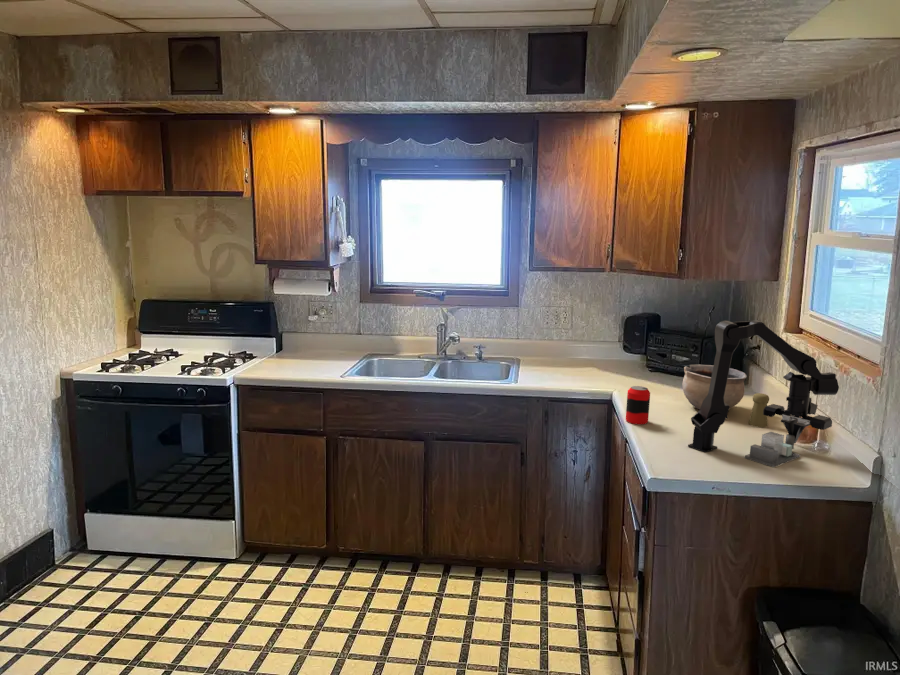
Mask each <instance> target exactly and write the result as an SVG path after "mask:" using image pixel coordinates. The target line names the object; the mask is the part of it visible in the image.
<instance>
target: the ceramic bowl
mask: <svg viewBox="0 0 900 675" xmlns="http://www.w3.org/2000/svg"><path fill="white" fill-rule="evenodd" d="M713 366H714V364H713V365H711V364H689V366H684V367H683V371H684V376H683V380H682V392H683V394H684V396H685V398H686V400H688V402H689V403H690V404H691V406H692V407H694V408H695V409H697V410H700V408H701V405H702V402H703V400H704V399H705V398H706V396H707V395H708V392H709V387H710V382H711V377H712V371H713ZM747 377H748V376H747V374H746V373H745V372H743V371H741V370H738V369H734V368H732V367H730V369H729V374H728V379H727V384H726V389H725V394H724V402H725V403H726V404H728V405H729V410H731V409H733V407H735V406H737V405H738V404H739V403H740V402H741V400H742V399H743V398H744V395H745V393H746V392H745V391H746V390H745V381H746V380H747Z"/></svg>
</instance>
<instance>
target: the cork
mask: <svg viewBox="0 0 900 675" xmlns="http://www.w3.org/2000/svg"><path fill="white" fill-rule="evenodd" d="M752 402H753V405H752V410H751V413H750V418H749V422H748V424H749V425H750V426H752V427H754V428H755V427H756V428H767V427H768V425H769V424H768V423H769V422H768V421H769V420H768V416H766V415H763V409H764V408H765V407H766V406H768V404H769V402H770V397H769V395H768V394H767V393H760V392H757V393H754V394H753V395H752Z"/></svg>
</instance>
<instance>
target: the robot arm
mask: <svg viewBox="0 0 900 675" xmlns="http://www.w3.org/2000/svg"><path fill="white" fill-rule="evenodd" d="M754 336H756V337H757V338H758V339H760V340H761V341H762V342H764V343H765V344H766V345H767V346H769V347H770V348H772V350H774V351H776V353H778V354H779V355H780V356H781V357H782V359H783V361H784V362H785V363H786V364H787V365H788V366H789V368H790V369H791V370H794V371H795V372H797V373H800V374H796V373H794V372H793V371H789V372H788V373H787V374H785V375H784V376H783V379H785V380H786V381H788V382H789V391H788V396H786V399H785V400H786V402H787V407H786V408H785V406H783V405H779V404H776V403H775V404H774V403H772V404H771V403H770V404H769V405H768V404H767V406H766V407H765V408H764V409H763V415H766V416H767V417H770V418H773V417H775V416H776V415H777V416H778V415H779V416H781V419H780V423H783V425H784V427H785V430H786V431H787V433H788V434H791V435H794V436H795V440H794V444H796V443H797V441H798V440H799V438H800V436H801V434H802V432H803V431H804V430H805V428H807V427H809V426H810V427H811V428H812V429H817V430H822V431H824V430H826V429H829V428H833V427H832V426H833V420H832V418H831V417H829V416H826V415H825V416H824V415H821V414H818V415H816V413H817V409H818V406H819V405H818V404H816V403H814V402H812V397H811V393H812V394H813V395H815V396H836V394H838V392H839V389H840V385H839V381H838V379H837V375H836V373H834V372H820V370H819V368H818V367H817V360H816V358H814V357H813V356H811V355H809V354H807V353H805V352H802V351H800V350H799V349H796V348H794V346H792V345H791V344H789V343H788V342H787V341H786V340H784V339H783V338H782V337H781V336H779V335H778V334H777V333H775V331H773V330H771V329H770V328H769V327H768V326H766V324H765V323H764V322H763V321H760V320H758V319H757V320H755V319H754V320H748V321H730V320H722V321H719V323H717V324H716V326H715V329H714V343H715V347H716V352H715V357H714V362H713V365H714V366H713V371H712V377H711V382H710V387H709V392H708V395H707V396H706V398H705V399H704V400H703V402H702V405H701V408H700V409H698V412H696V413H695V414H694V415H693V416H692V417H691V418H690V420H691V424H692V425H693V426H694V428H693V435H692V443H689V444H687V447H689V448H691V449H695V450H698V451H701V452H704V453H708V452H711V451H714V450H716V449H718V446H717V445H714V442H715V441H714V439H715V434H717V433H718V431H719V429H720V427H721V426H722V425H724V423H725V421H726V420H727V419H729V417H728V412H729V410H730V409H729V405H728V404H726V403H725V402H724V394H725V389H726V384H727V379H728V374H729V369H730V368H731V365H732V364H731V363H732V358H733V354H734V352H735V350H736V349H737V348H738V346H739V344H740V342H741V339H748V338H752V337H754ZM811 415H814V416H811Z"/></svg>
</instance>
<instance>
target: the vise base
mask: <svg viewBox="0 0 900 675" xmlns="http://www.w3.org/2000/svg"><path fill="white" fill-rule="evenodd" d="M777 454H778V451H776V450H773V449H769V448H766V447H762V446H761V445H759V444H751V445H750V450H749V453H747V454H745V455H744V459H747V460H749V461H753V462H756V463H759V464H763V465H765V466H768V467H772V468H776V467H778V466H780V465H783V464H786V463H789V462H791V461H794V460H796V459H799V458H800V457H801V454H800V453H796V452H794V451H792V454H791V455H790V456H788V457H787V456H784V455H782V456H780V457H778V458H777Z"/></svg>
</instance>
